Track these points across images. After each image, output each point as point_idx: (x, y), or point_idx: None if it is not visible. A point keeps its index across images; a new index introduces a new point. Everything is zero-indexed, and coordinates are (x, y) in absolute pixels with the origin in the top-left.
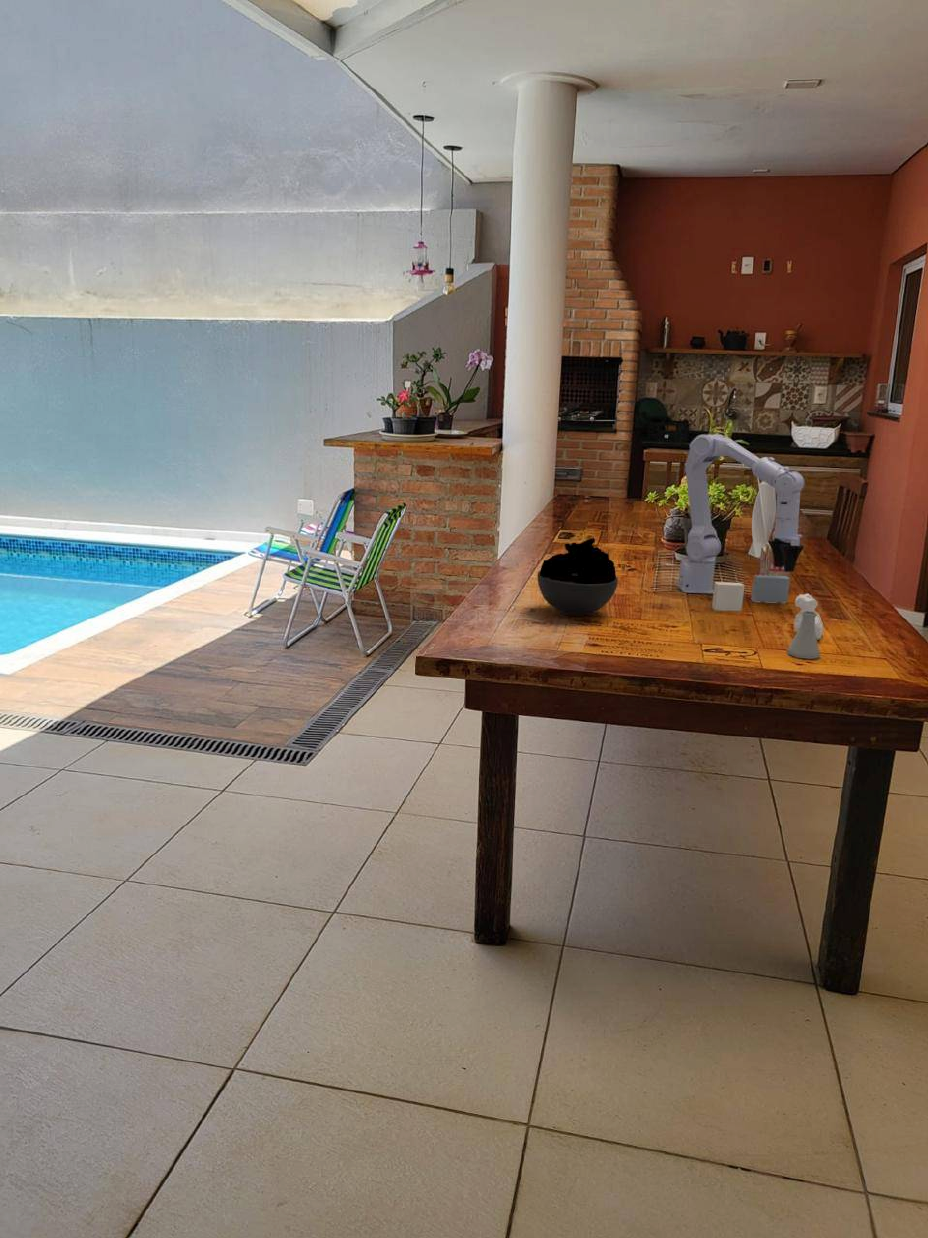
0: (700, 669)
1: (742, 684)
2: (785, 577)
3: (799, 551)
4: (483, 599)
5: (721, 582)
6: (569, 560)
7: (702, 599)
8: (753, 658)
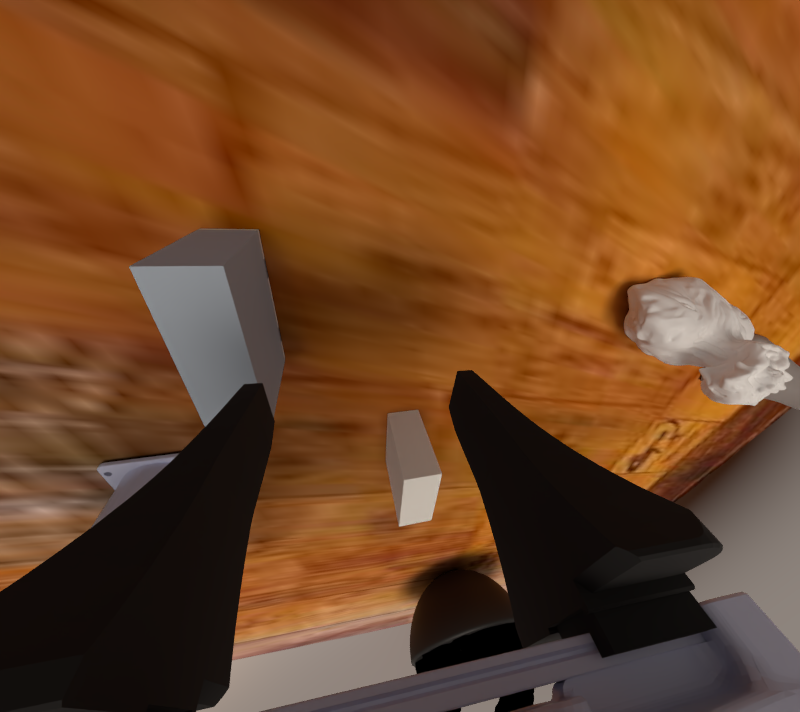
0: (681, 473)
1: (741, 444)
2: (187, 288)
3: (628, 495)
4: (384, 625)
5: (401, 516)
6: None
7: (300, 474)
8: (689, 426)
